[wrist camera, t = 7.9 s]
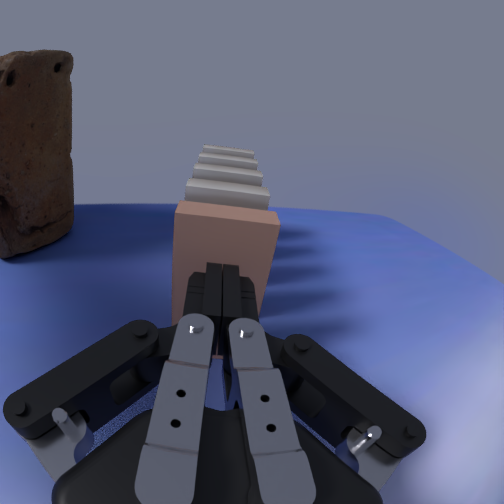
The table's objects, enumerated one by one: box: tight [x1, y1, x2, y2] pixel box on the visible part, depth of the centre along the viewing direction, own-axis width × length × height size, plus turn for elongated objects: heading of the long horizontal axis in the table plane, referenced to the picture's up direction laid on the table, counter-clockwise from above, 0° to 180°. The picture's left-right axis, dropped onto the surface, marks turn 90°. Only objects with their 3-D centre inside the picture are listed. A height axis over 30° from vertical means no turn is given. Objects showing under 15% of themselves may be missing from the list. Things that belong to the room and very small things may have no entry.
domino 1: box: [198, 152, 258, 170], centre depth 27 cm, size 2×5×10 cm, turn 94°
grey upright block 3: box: [193, 163, 263, 187], centre depth 24 cm, size 2×5×10 cm, turn 94°
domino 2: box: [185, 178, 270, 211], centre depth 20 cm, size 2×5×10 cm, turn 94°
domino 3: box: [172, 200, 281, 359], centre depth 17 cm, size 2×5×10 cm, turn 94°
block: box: [0, 50, 74, 258], centre depth 21 cm, size 11×8×20 cm
